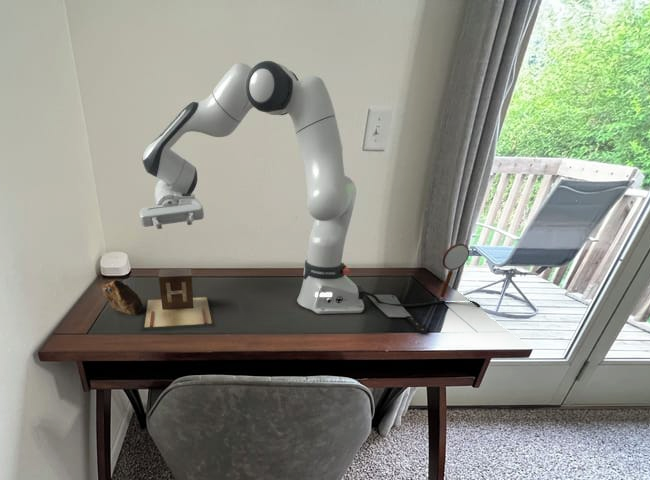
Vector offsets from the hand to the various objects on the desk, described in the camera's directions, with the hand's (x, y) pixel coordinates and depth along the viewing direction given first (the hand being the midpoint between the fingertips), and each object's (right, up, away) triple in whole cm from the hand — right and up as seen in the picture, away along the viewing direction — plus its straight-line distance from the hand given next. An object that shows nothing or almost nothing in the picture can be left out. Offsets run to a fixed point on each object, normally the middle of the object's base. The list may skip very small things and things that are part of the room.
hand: (174, 224), depth 109 cm
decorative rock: (-17, -27, +5) cm, 32 cm away
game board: (0, -27, +4) cm, 27 cm away
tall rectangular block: (0, -24, +8) cm, 25 cm away
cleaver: (+72, -27, +7) cm, 77 cm away
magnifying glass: (+92, -21, +16) cm, 96 cm away
